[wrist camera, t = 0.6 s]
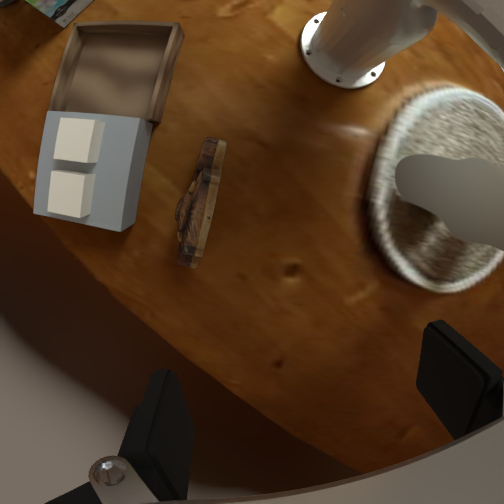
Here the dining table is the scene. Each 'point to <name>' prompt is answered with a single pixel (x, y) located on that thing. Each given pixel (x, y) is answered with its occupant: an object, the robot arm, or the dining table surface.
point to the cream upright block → (71, 193)
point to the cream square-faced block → (79, 140)
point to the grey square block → (100, 169)
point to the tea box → (60, 9)
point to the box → (118, 68)
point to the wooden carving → (199, 203)
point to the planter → (5, 2)
